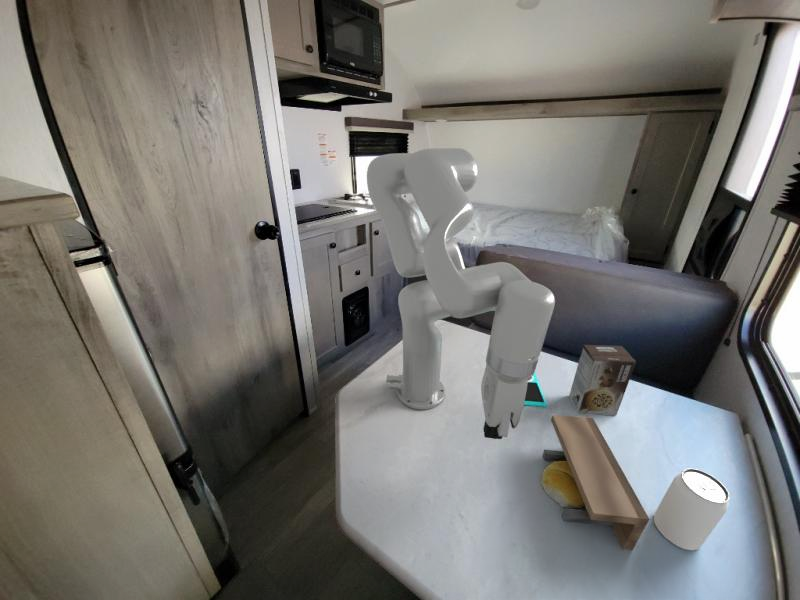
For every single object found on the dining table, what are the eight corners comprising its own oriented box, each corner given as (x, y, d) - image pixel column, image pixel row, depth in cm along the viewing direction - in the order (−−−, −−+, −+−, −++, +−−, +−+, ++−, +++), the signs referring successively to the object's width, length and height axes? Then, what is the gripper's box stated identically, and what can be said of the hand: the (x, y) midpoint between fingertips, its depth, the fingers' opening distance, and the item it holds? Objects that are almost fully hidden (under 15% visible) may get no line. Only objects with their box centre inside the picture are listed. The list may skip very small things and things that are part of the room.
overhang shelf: (570, 543, 53) (583, 512, 49) (537, 442, 71) (544, 414, 67) (632, 550, 52) (649, 519, 48) (582, 446, 70) (592, 417, 66)
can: (643, 512, 57) (667, 467, 52) (677, 509, 58) (704, 464, 52) (674, 554, 51) (705, 508, 46) (711, 549, 52) (746, 504, 47)
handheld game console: (532, 369, 94) (533, 365, 94) (547, 409, 80) (548, 405, 80) (497, 366, 96) (497, 363, 95) (506, 405, 81) (507, 401, 81)
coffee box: (604, 397, 83) (622, 345, 76) (617, 416, 77) (638, 361, 70) (567, 395, 84) (582, 343, 77) (577, 413, 78) (594, 359, 71)
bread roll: (597, 488, 61) (603, 475, 60) (575, 519, 56) (581, 505, 55) (556, 459, 67) (560, 445, 65) (532, 484, 62) (536, 470, 60)
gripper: (482, 328, 57) (468, 402, 66) (494, 389, 44) (475, 470, 53) (525, 332, 57) (505, 405, 66) (550, 395, 44) (521, 476, 53)
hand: (492, 434), depth 59 cm, fingers closed
